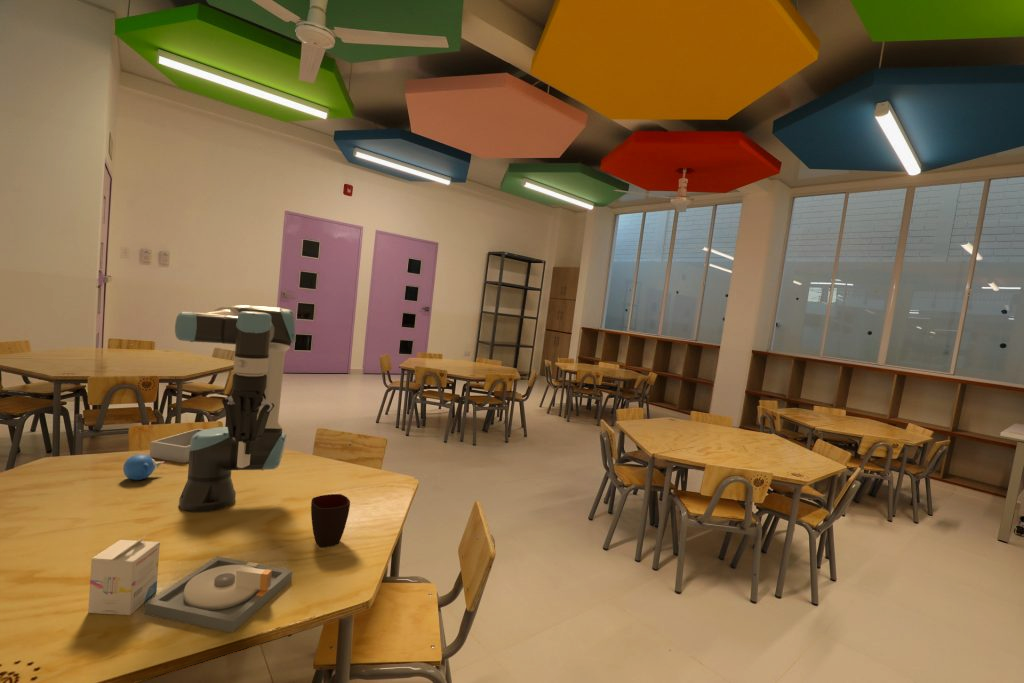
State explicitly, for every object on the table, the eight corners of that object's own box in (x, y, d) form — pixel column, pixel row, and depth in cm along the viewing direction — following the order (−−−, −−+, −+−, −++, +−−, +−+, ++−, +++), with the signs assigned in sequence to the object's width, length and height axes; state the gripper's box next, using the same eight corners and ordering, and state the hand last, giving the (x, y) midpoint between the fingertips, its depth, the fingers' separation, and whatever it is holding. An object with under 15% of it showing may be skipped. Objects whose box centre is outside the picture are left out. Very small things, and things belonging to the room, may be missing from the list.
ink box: (117, 589, 106) (121, 530, 106) (157, 591, 107) (161, 533, 106) (86, 614, 98) (90, 550, 97) (130, 616, 98) (134, 552, 98)
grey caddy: (149, 457, 185) (150, 441, 185) (196, 442, 208) (197, 428, 208) (184, 462, 183) (185, 447, 183) (228, 447, 206) (229, 433, 206)
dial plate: (144, 614, 99) (145, 602, 99) (216, 565, 119) (217, 555, 119) (232, 633, 97) (233, 620, 97) (291, 580, 117) (292, 569, 116)
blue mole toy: (172, 478, 168) (173, 455, 167) (130, 486, 158) (132, 461, 157) (156, 469, 174) (158, 446, 174) (116, 477, 164) (117, 452, 164)
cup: (313, 554, 129) (317, 510, 129) (300, 532, 140) (304, 492, 140) (350, 546, 135) (354, 505, 135) (335, 526, 146) (338, 487, 146)
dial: (166, 605, 101) (168, 580, 100) (213, 567, 116) (215, 546, 115) (248, 615, 100) (250, 591, 100) (284, 576, 115) (286, 555, 115)
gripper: (215, 371, 117) (208, 466, 119) (264, 378, 116) (257, 474, 117) (237, 368, 125) (230, 458, 126) (283, 375, 123) (276, 465, 124)
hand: (243, 465), depth 122 cm, fingers closed
